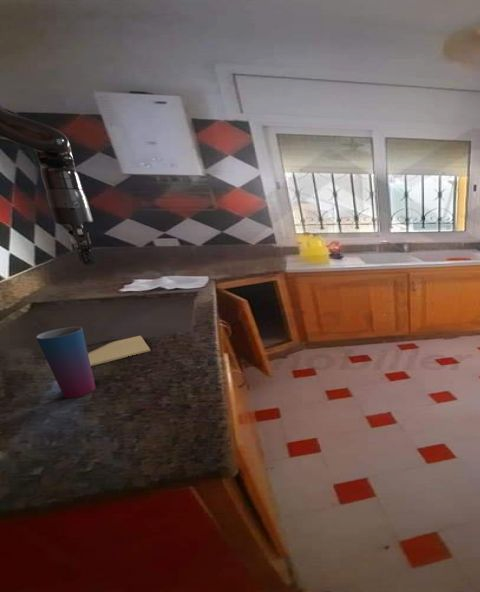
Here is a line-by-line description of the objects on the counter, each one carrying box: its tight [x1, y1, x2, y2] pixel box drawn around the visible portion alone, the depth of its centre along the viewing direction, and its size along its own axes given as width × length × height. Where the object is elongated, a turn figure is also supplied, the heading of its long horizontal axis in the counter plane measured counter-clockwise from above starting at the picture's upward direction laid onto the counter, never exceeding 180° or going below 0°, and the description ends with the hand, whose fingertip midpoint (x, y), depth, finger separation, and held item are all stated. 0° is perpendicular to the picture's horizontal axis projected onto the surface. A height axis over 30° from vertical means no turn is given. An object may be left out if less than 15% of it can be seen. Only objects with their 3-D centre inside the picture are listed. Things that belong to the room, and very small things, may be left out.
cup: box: [35, 326, 96, 399], centre depth 71 cm, size 7×7×15 cm
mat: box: [88, 335, 151, 367], centre depth 93 cm, size 16×16×1 cm
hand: (87, 263), depth 93 cm, fingers open, 8 cm apart
